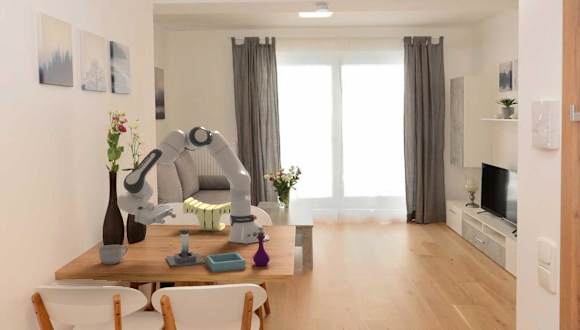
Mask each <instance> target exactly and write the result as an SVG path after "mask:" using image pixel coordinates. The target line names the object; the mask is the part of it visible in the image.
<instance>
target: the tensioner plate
mask: <svg viewBox="0 0 580 330" xmlns="http://www.w3.org/2000/svg"><path fill="white" fill-rule="evenodd" d="M165 259H166V261H167V263H168V265H169V266H171V267H170V268H176V267H175V266H177V267H184V266H185V267H186V266H193V265H194V266H196V265H205V264H206V260H204V258H203V256H201V254H200V253H194V251H189V256H186V257H181V252H178V253H177V252H176V253H174V254H173V255H170V256H168V255H167V256H165Z"/></svg>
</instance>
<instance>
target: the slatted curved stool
mask: <svg viewBox="0 0 580 330" xmlns="http://www.w3.org/2000/svg"><path fill="white" fill-rule="evenodd" d="M182 210H183V215H185V214H193V215H195V216H197V220H198V223H199V231H218V232H219V231H220V232H221V231H222V230H224V228H226V227H225V226H226V224H225V222H224V223H223V222H220V221H221V217H222V216H223V215H225V214H227V215H229V214H230V215H231V201H229V202H226V203H223V204H222V203H221V204H210V203H206V202H205V203H203V202H202V201H199V200H197V199H194V197H191V196H190V197H188V198H187V199H185V200H184V201H183V204H182Z"/></svg>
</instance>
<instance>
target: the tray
mask: <svg viewBox="0 0 580 330" xmlns="http://www.w3.org/2000/svg"><path fill="white" fill-rule="evenodd" d="M205 258H206V260H205V264H206V266H207V267H208V268H209V269H210V270H211V272H212V273H219V272H220V273H221V272H227V271H228V272H230V271H238V270H246V268H247V267H246V259H244V257H242V255H240V253H239V252H228V253H218V254H208V255H206V256H205Z"/></svg>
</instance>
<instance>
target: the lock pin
mask: <svg viewBox="0 0 580 330" xmlns="http://www.w3.org/2000/svg"><path fill="white" fill-rule="evenodd" d="M189 233H190V230H189V229H187V228H184V229H183V228H182V229H180V230H179V236H180V237H179V238H180V240H179V241H180V253H181V257H186V256H189V252H190V234H189Z"/></svg>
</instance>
